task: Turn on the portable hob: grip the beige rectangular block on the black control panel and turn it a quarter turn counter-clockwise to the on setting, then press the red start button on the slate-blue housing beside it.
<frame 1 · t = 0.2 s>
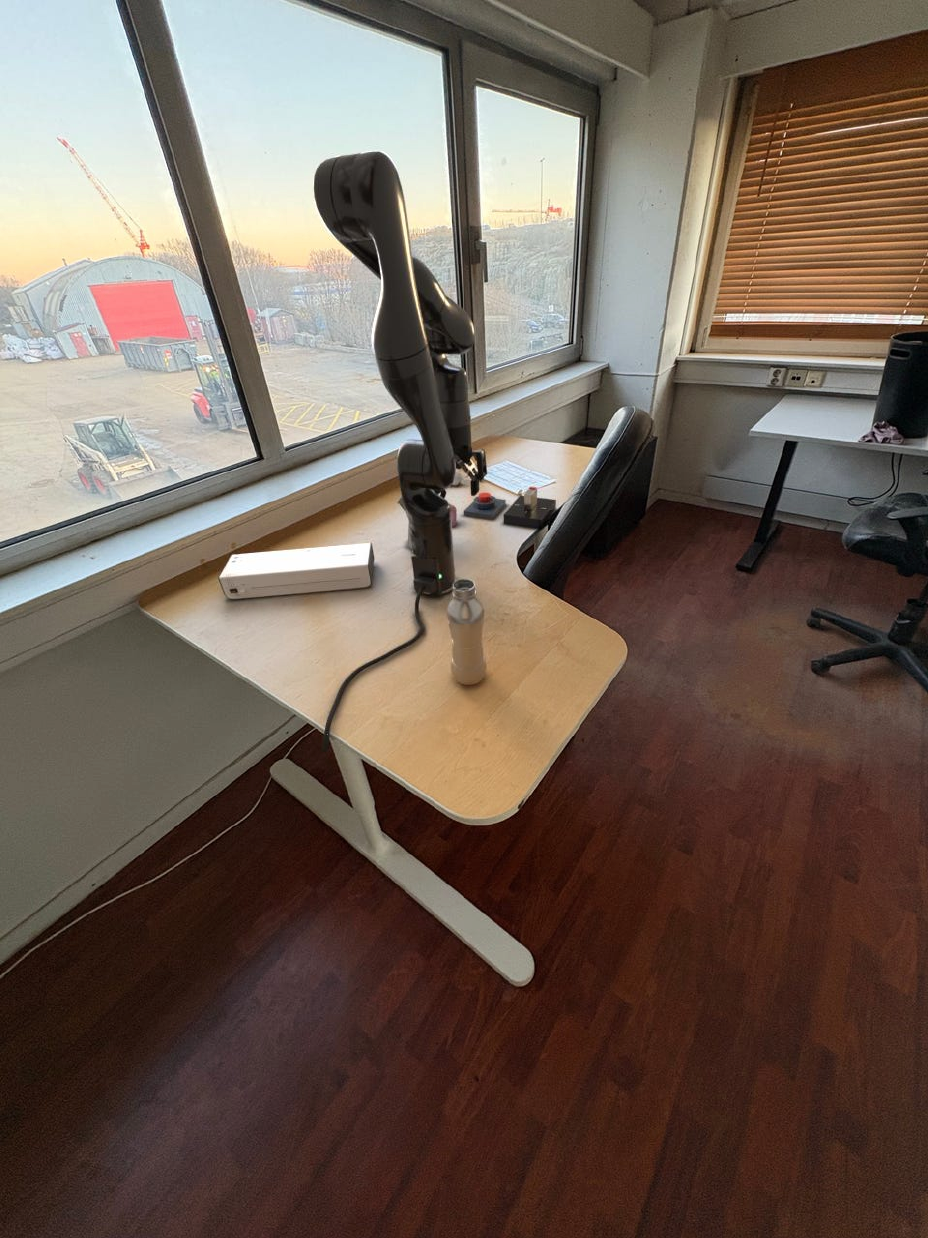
hand: (457, 492, 118), 17 cm above the table, tool pointing down, fingers open, 8 cm apart
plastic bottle: (469, 677, 92), on the table
clip-on lamp: (457, 481, 171), on the table
start button: (484, 497, 148), point 4 cm above the table, slide at 0.2 cm
beige rectangular block: (530, 498, 142), point 6 cm above the table, hinge at 0.0°
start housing: (485, 510, 150), on the table
video game controller: (440, 523, 145), on the table
hob panel: (530, 516, 145), on the table
laminator: (304, 583, 122), on the table
coffee maker: (427, 543, 136), on the table
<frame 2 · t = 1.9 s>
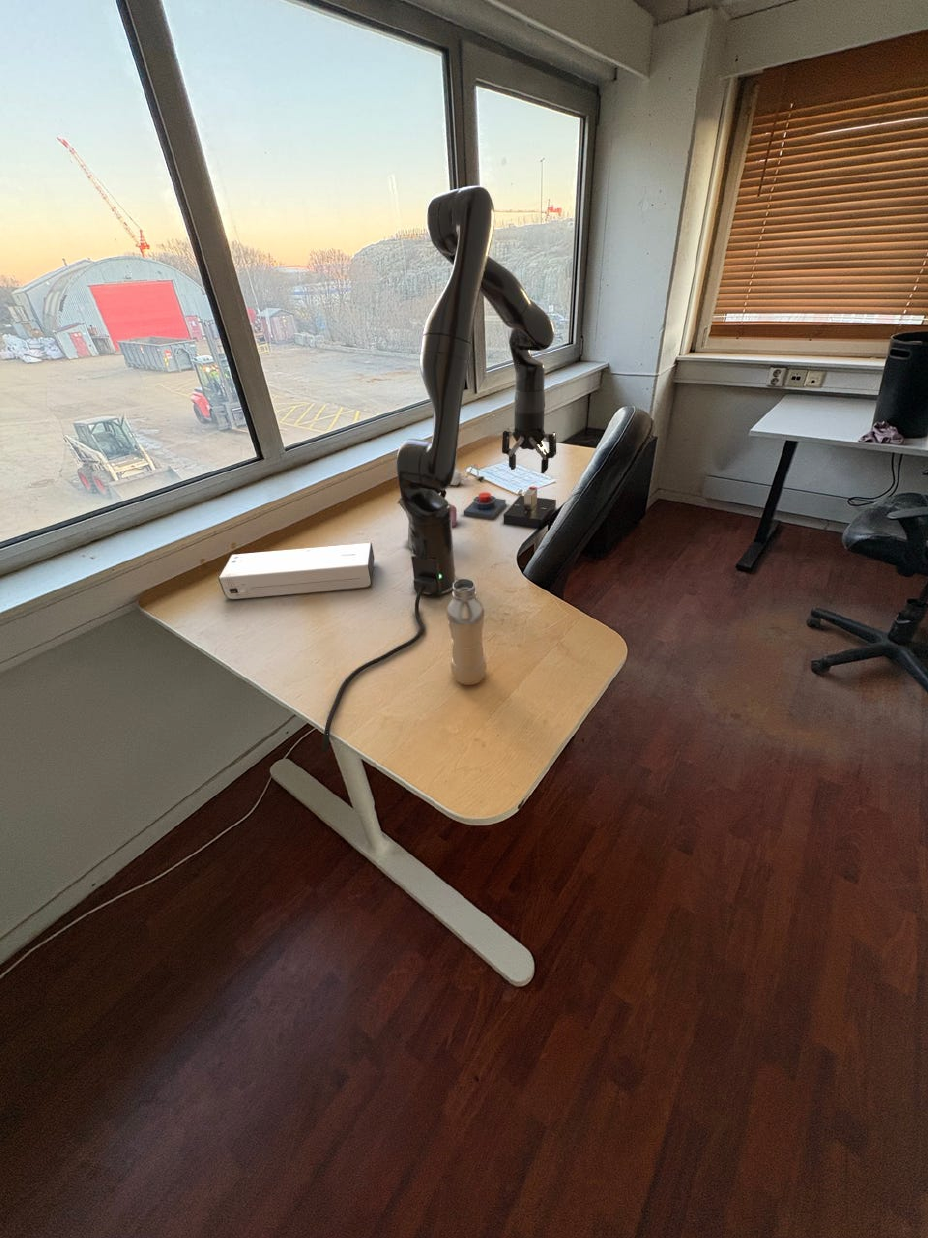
hand: (528, 470, 136), 14 cm above the table, tool pointing down, fingers open, 8 cm apart
nothing on the table moved.
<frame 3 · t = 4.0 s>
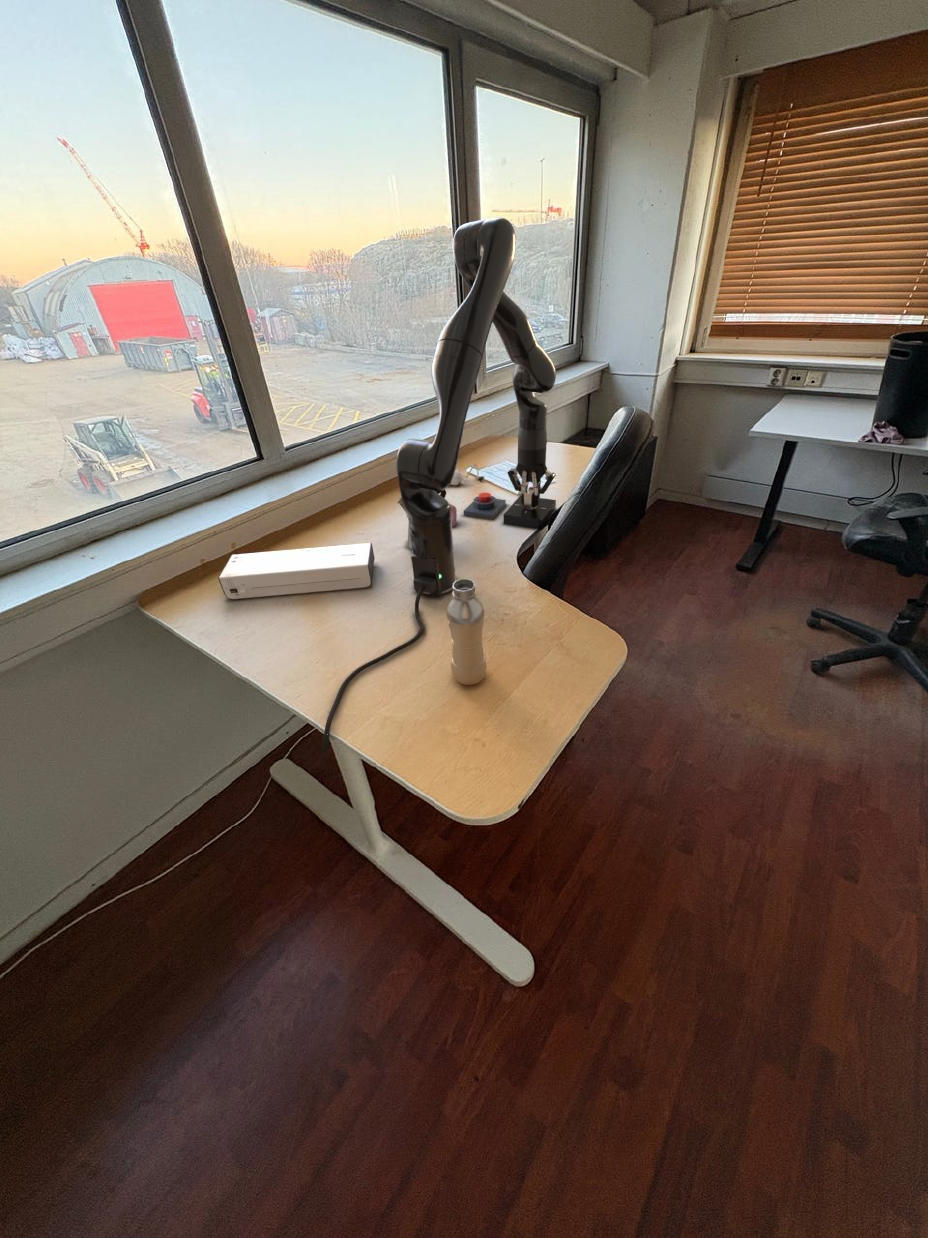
hand: (530, 505, 143), 3 cm above the table, tool pointing down, fingers closed on beige rectangular block, 2 cm apart
beige rectangular block: (530, 498, 142), point 6 cm above the table, hinge at 0.1°, touching gripper
everything else where it was.
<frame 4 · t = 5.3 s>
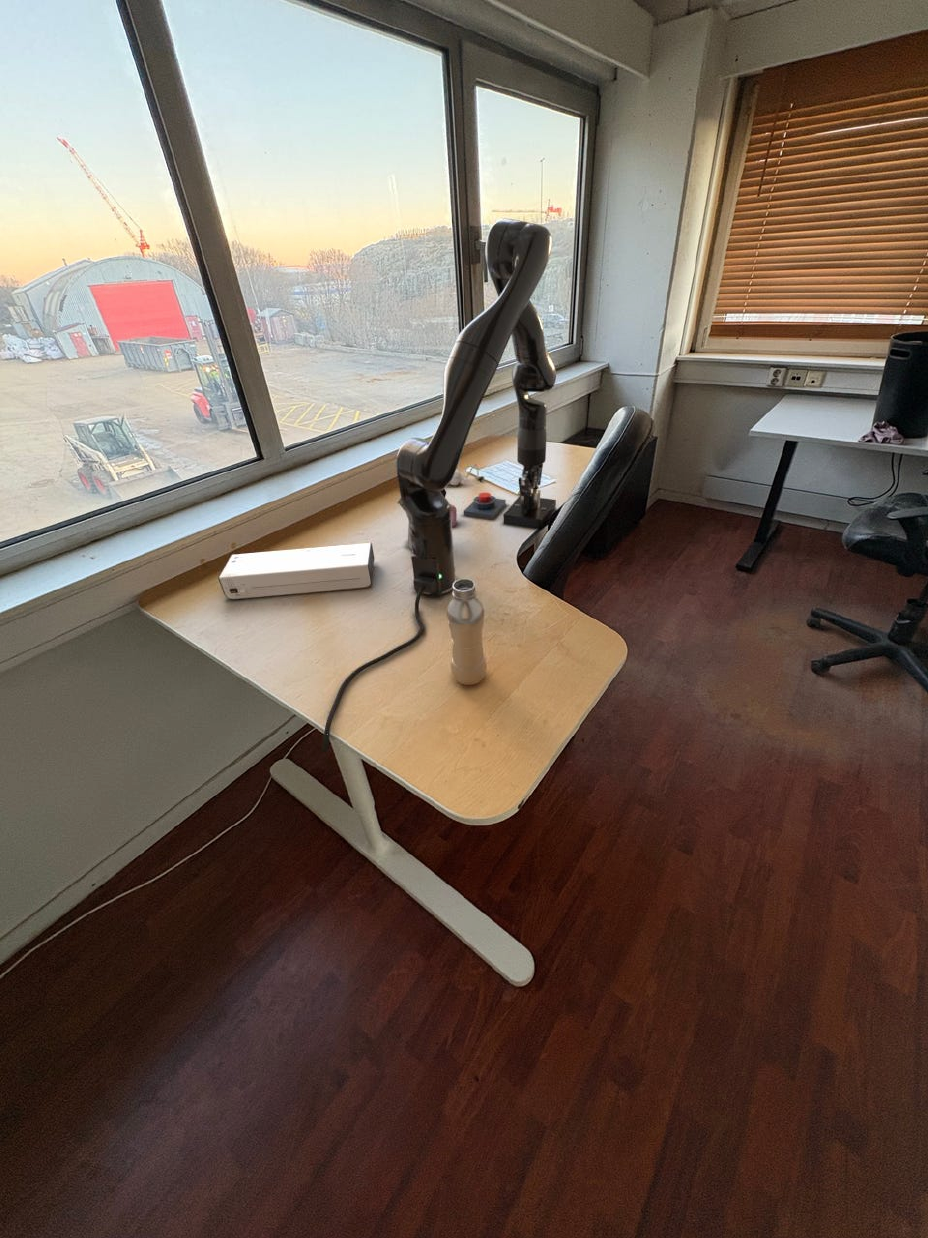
hand: (530, 504, 143), 4 cm above the table, tool pointing down, fingers open, 4 cm apart
beige rectangular block: (530, 498, 142), point 6 cm above the table, hinge at 89.8°
everything else where it was.
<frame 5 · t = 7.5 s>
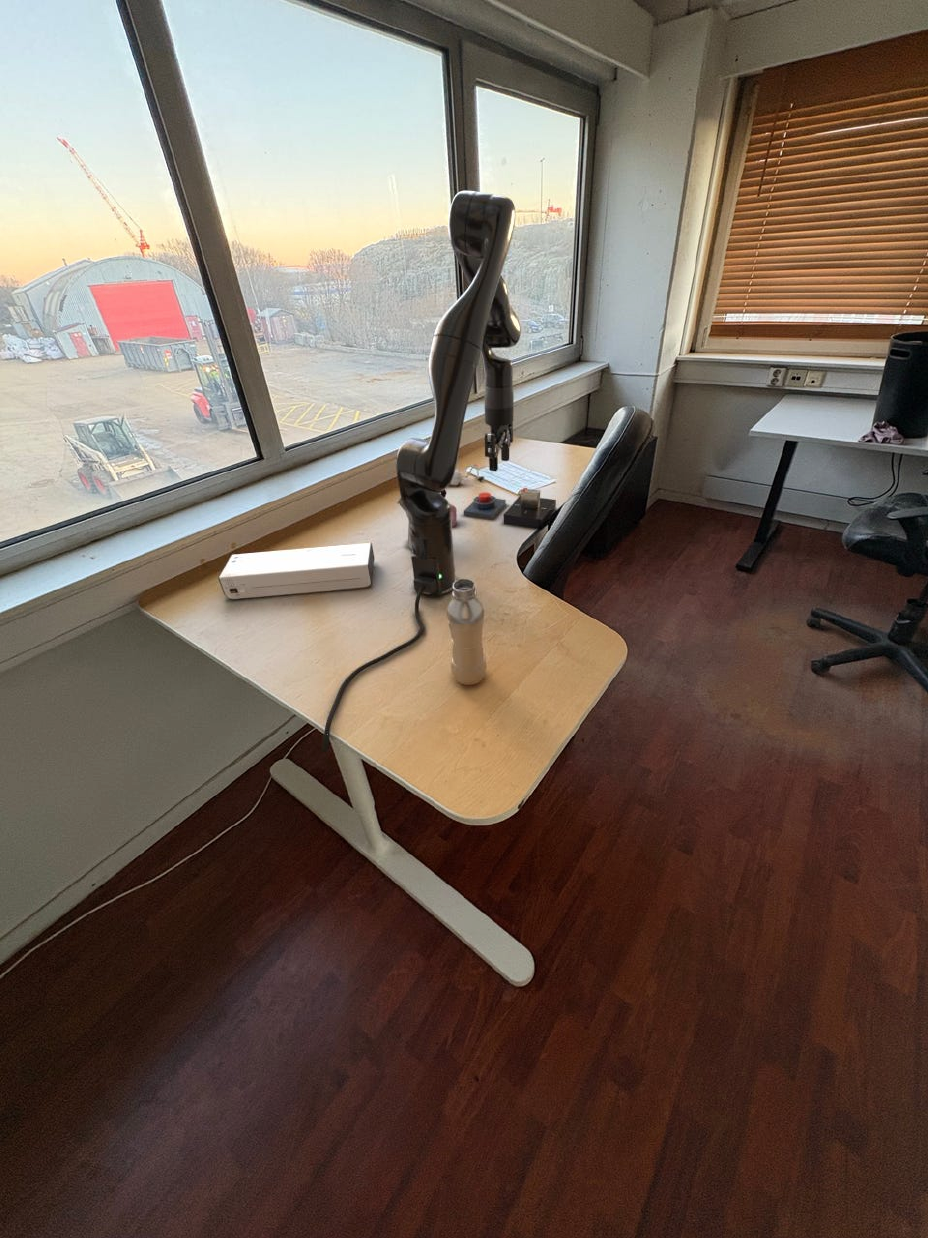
hand: (499, 465, 140), 14 cm above the table, tool pointing down, fingers open, 8 cm apart
nothing on the table moved.
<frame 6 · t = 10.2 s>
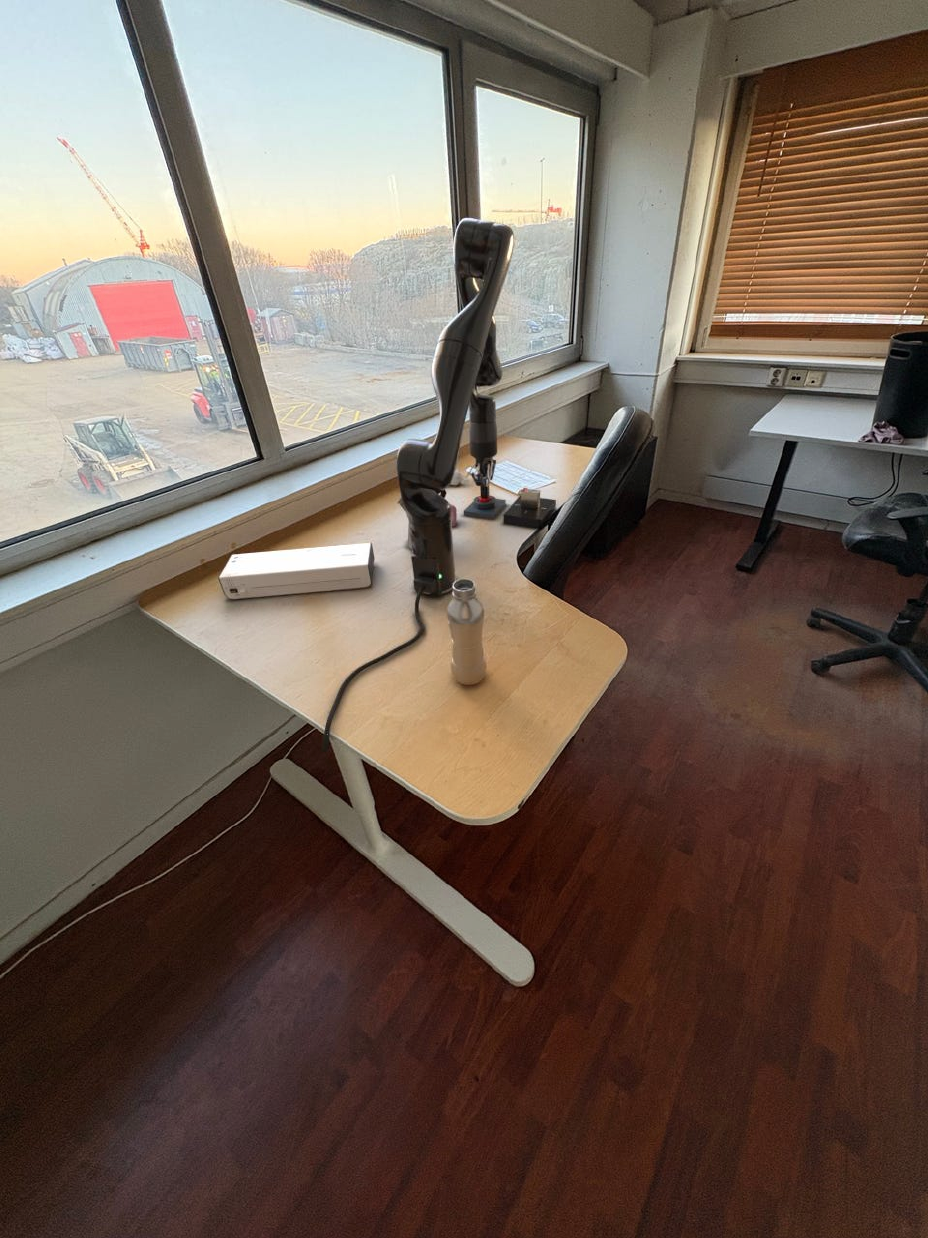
hand: (485, 497, 148), 4 cm above the table, tool pointing down, fingers closed
start button: (484, 500, 148), point 3 cm above the table, slide at -0.6 cm, touching gripper
everything else where it was.
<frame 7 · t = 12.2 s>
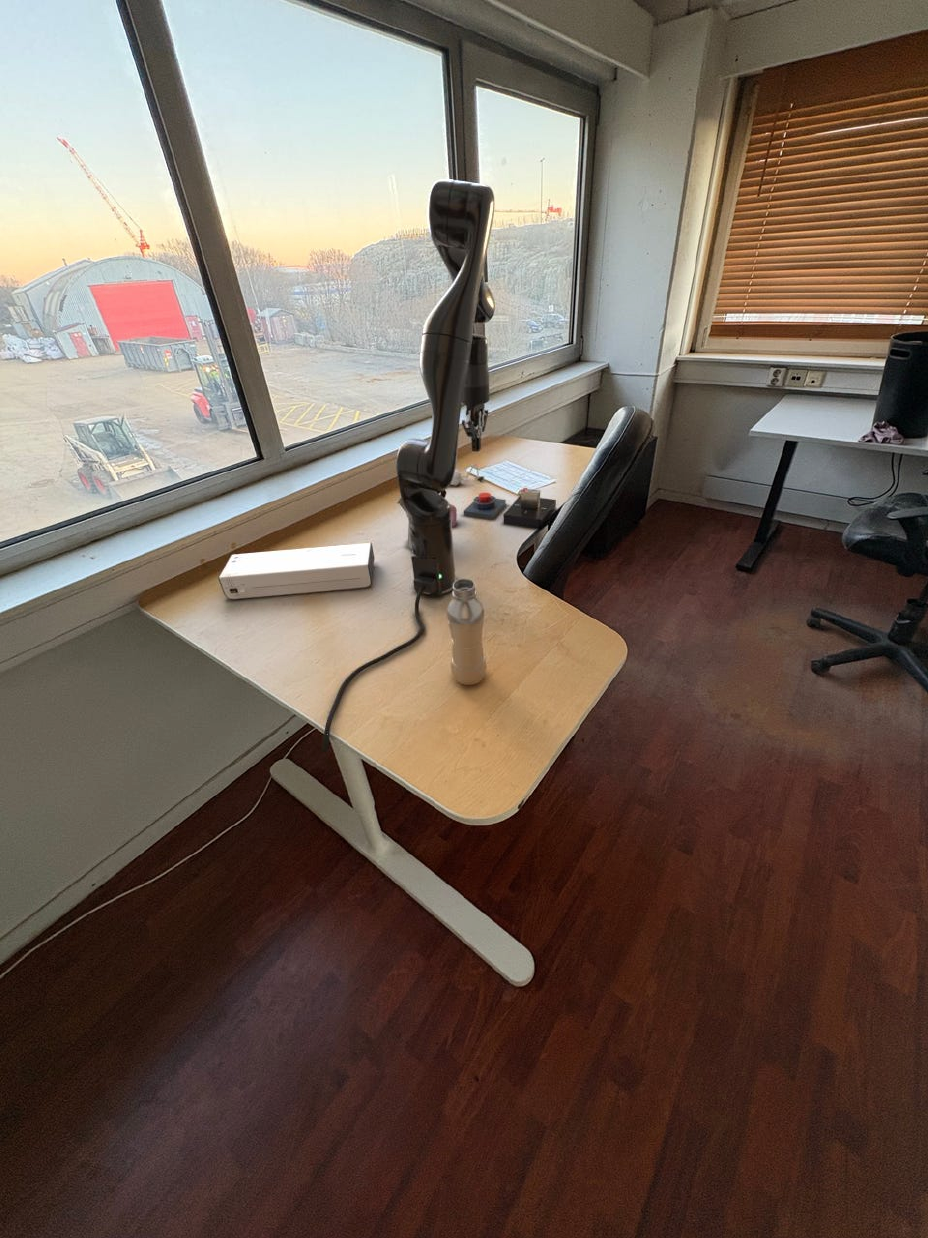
hand: (476, 450, 139), 18 cm above the table, tool pointing down, fingers closed
start button: (484, 497, 148), point 4 cm above the table, slide at 0.1 cm
everything else where it was.
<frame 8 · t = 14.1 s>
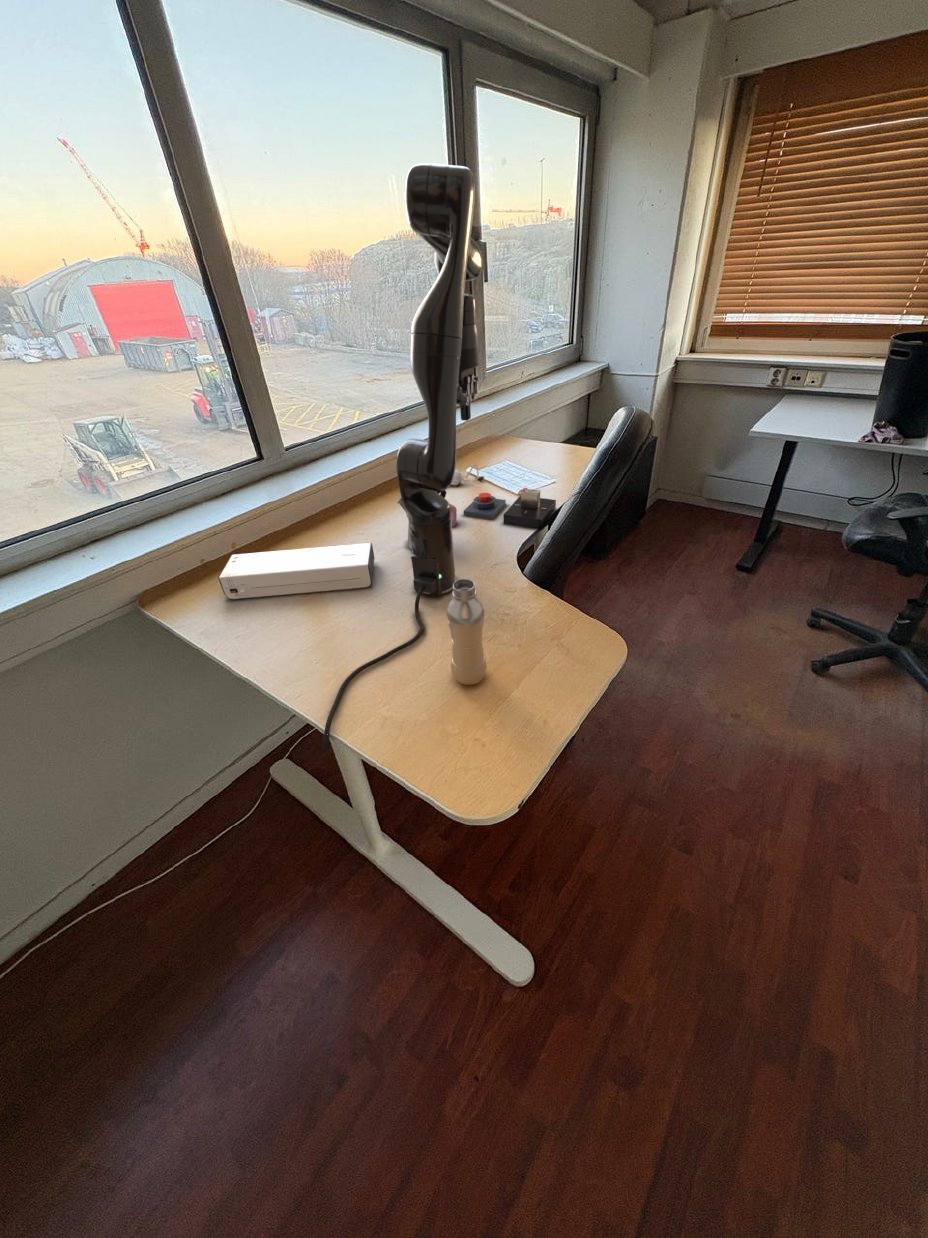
hand: (465, 419, 132), 27 cm above the table, tool pointing down, fingers closed
nothing on the table moved.
at the end: beige rectangular block at +90° (first picture: +0°); start button pushed in 0.9 cm at the most during the clip, back to where it started at the end; start button slide at 0.1 cm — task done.
